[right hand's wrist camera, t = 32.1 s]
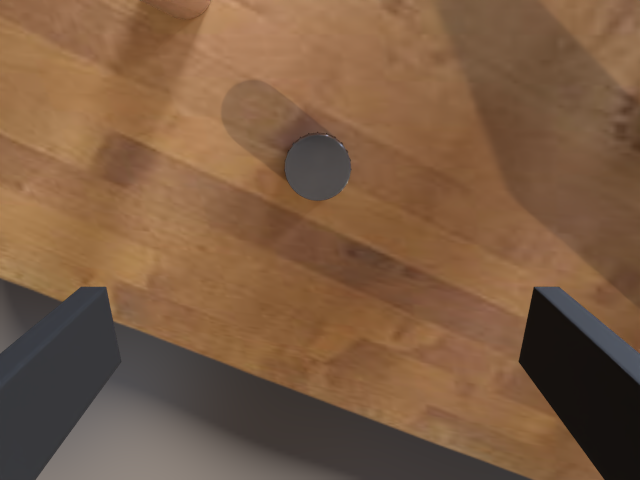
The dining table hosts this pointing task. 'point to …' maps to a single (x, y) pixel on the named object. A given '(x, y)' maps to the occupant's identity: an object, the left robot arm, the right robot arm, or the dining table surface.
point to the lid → (317, 166)
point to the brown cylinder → (180, 7)
